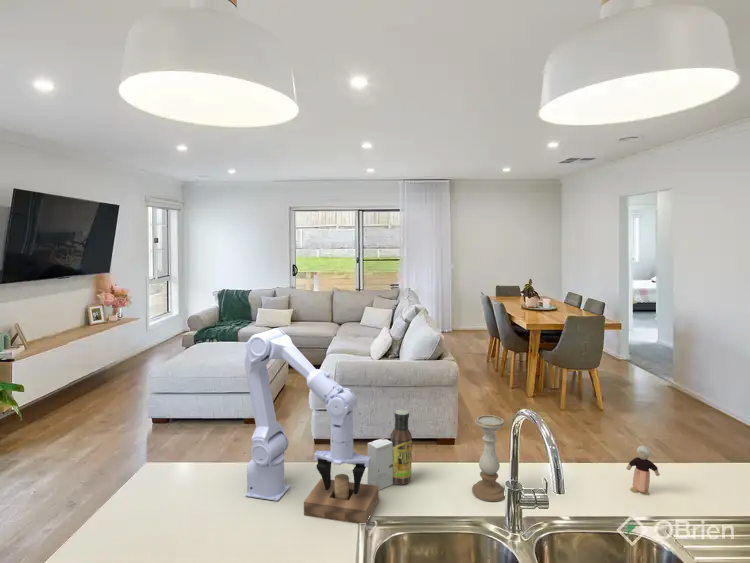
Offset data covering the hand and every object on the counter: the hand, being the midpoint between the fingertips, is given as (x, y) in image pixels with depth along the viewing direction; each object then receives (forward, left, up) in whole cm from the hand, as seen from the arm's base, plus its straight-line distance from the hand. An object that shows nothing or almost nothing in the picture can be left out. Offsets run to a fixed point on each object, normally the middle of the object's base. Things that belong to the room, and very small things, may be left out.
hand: (342, 490), depth 121 cm
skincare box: (+7, +13, -5) cm, 15 cm away
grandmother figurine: (+76, +27, -5) cm, 81 cm away
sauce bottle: (+12, +17, -5) cm, 21 cm away
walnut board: (0, 0, -4) cm, 4 cm away
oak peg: (0, 0, -4) cm, 4 cm away
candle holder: (+36, +16, -5) cm, 40 cm away
